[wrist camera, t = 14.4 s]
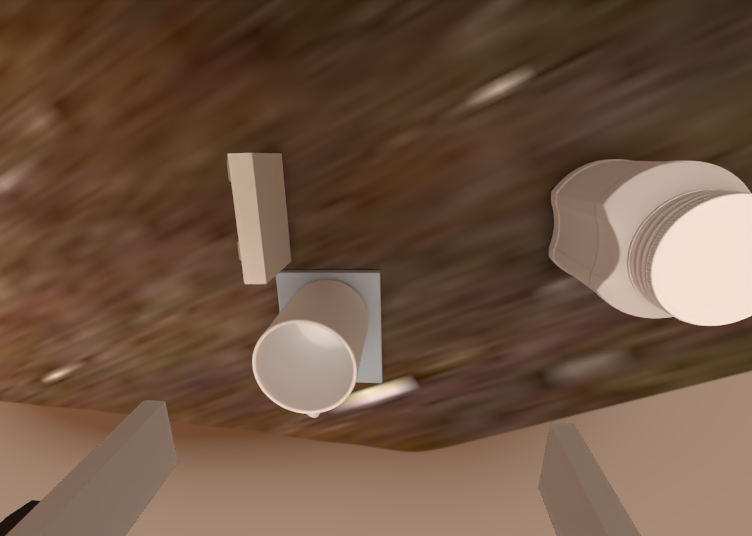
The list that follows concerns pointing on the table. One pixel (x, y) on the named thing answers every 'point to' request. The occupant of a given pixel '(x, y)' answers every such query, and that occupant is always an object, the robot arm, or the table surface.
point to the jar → (658, 238)
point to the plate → (369, 291)
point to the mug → (313, 348)
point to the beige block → (260, 214)
